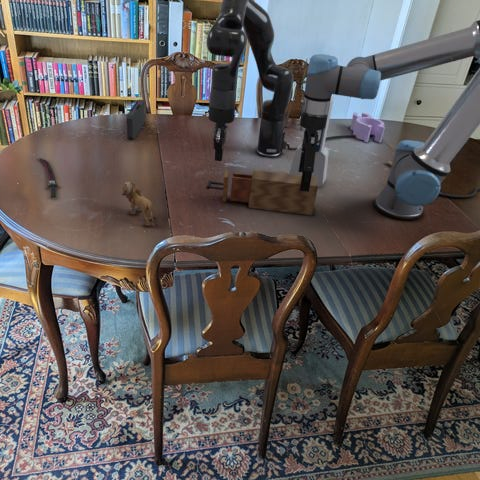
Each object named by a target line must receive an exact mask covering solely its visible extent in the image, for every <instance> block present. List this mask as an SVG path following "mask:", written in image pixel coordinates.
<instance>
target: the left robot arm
mask: <svg viewBox="0 0 480 480" xmlns="http://www.w3.org/2000/svg"><path fill="white" fill-rule="evenodd" d="M218 13H219V14H218V17H217V18H216V20H215V22H214V23H213V25H212V26H211V27H210V29H209V31H208V33H207V35H206V43H205V44H206V49H207V50H208V52H209V53H210V54H211V55H213V56H218V57H226V58H227V57H228V58H231V60H230V61H229V62H226V63H219V64H215V65H214V66H213V67H212V68H211V69H212V70H211V81H210V82H211V83H210V91H209V101H208V117H207V118H208V120H209V121H211V122H212V123H214V126H213V127H212V133H213V150H214V161H216V162H222V161H223V155H224V153H223V152H224V148H225V143H226V140H227V133H228V130H229V125H228V124H231V123H233V122H234V121H235V116H236V115H235V114H236V104H237V81H238V72H239V68H240V65H241V61H242V59H243V57H244V54H245V51H246V48H247V43H248V44H249V47H250V50H251V52H252V55H253V58H254V61H255V64H256V67H257V72H258V77H259V80H260V83H261V86H262V87H263V88H264V89H266V90H267V91H269V92H271V93H273V95H272V99H266V100H263V102H262V105H261V114H260V123H259V131H258V138H257V139H258V140H257V148H256V153H257V154H258V155H259V156H262V157H264V158H265V157H266V158H277V157H279V156H281V155H282V154H283V150H286V149H288V150H290V151H296V150H297V148H298V147H290V146H291V145H290V143H288V142H287V141H286V140H285V136H286V130H284V128H285V127H284V125H285V122H286V117H287V116H286V115H287V109H288V107H289V104H290V101H291V96H292V91H293V86H294V74H293V73H294V72H293V71H292V70H291V69H289V68H286V67H284V66H280V65H278V64H276V62H275V59H274V56H273V54H272V48H273V45H274V41H275V29H274V27H273V23H272V20H271V17H270V15H269V14H268V12H267V11H266V9H264V7H262V6H261V5H259V4H258V3H257V2H256V1H255V0H222V1H221V4H220V8H219V12H218ZM242 29H243V30H242ZM373 137H374V135H372V134H370V136H369V138H373ZM340 138H356V135H353V134H345V135H343V134H342V135H333V136H326V140H331V139H340ZM326 140H325V141H326ZM319 141H320V139H318V140H317V144H319Z"/></svg>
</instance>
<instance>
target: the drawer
mask: <svg viewBox="0 0 480 480" xmlns="http://www.w3.org/2000/svg"><path fill="white" fill-rule="evenodd" d="M229 180H230V170H229V169H226V170H225V172H224V175H223V182H218V181H212V180H211V179H208V181H207V184H206V187H205V188H206V190H211V189H212V190H220V191H222V197H221V202H227V198H228V192H229V182H230V181H229ZM251 181H252V174H251V173H250V174H249V173H241V172H233V173H232V176H231V186H230V195H229V196H230V198H229V201H233V202H240V203H241V202H242V203H248V204H249V198H250V189H251ZM213 185H217V186H213ZM219 185H220V186H219Z"/></svg>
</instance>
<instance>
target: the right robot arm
mask: <svg viewBox="0 0 480 480" xmlns="http://www.w3.org/2000/svg"><path fill="white" fill-rule="evenodd" d="M472 57H474V58H476V59H477V60H478V59H479V60H480V19H479V20H474V21H473V22H472V23H471V25H470V26H469V27H465V28H462V29H458V30H454V31H451V32H448V33H445V34H441V35H437V36H434V37H430V38H426V39H423V40H420V41H416V42H414V43H410V44H405V45H403V46H399V47H396V48H392V49H388V50H384V51H381V52H378V53H374V54H372V55H368V56H356V57H353V58H352V59H351V60H349V62H347V64H346V66H343V65H339V63H338V62H339V61H338V58H337V57H336V56H334V55H330V54H325V53H324V54H323V53H317V54H313V55H312V56H311V57H310V58H309V61H308V68H307V71H306V79H305V81H306V83H305V87H304V92H303V100H301V99H300V104H301V103H303V107H302V111H303V112H302V113H301V112H300V116H301V117H300V119H299V121H300V122H299V126H300V127H301V126H302V129H304V130H303V137H304V139H303V138H302V143H301V144H302V151H303V152H301V159H300V165H299V172H302V179H301V185H300V191H306V192H309V188H310V182H311V177H312V173H313V172H314V161H315V153H316V147H317V145H318V143H317V141H318V140H319V132H318V131H322V130H323V129H325V127H326V123H327V118H328V116H327V114H328V113H329V108H330V102H331V97H332V95H335V96H343V97H348V98H356V99H360V100H374V99H376V97H377V96H378V93H379V89H380V84H381V81H384V80H389V79H392V78H395V77H400V76H403V75H406V74H411V73H415V72H418V71H422V70H426V69H430V68H434V67H438V66H442V65H446V64H449V63H453V62H457V61H460V60H464V59H469V58H472ZM479 126H480V67H479V68H478V70H477V71H476V72H475V74H474V75H473V77H471V79H470V81H469V82H468V83H467V85H466V86H465V88H464V89H463V90H462V92H460V94H459V96H457V99H456V100H455V101H454V103H453V104H452V106H451V107H450V108H449V110H448V111H447V112H446V114H445V115H444V117H442V120H440V121H439V123H438V125H437V126H436V127H435V129H434V130H433V132H432V133H431V134H430V136H429V137H428V138H427V140H426V141H425V142H422V141H417V140H412V139H411V140H410V139H406V140H401V141H399V142H398V144H397V147H396V148H395V152H394V153H395V154H394V156H393V160H392V166H390V170H389V174H388V177H387V180H386V184H384V186H383V188H381V189H380V191H379V194H378V195H377V197H376V199H375V202H374V207H375V208H376V209H377V210H378V211H379V212H380V213H381V214H383V215H385V216H386V217H390V218H393V219H396V220H401V221H414V220H417V219H419V218H421V217H422V215H423V212H424V206H426V205H429V204H431V203H432V202H434V201H435V200H436V199H437V198H438V196H440V197H446V198H451V199H468V198H469V199H470V198H472V197H474V196H475V195H476V194H477V192H478V191H479V187H478V186H476V187H475V188H474V189H473V192H472V193H470V194H463V195H462V194H449V193H444V192H440V191H441V188H442V187H441V186H442V185H441V184H442V183H443V181H444V180H445V179H446V177H448V175H449V173H450V172H451V162H452V161H453V160H454V158H455V157H456V156H457V154H458V153H459V152H460V150H461V149H462V148H463V147H464V145H465V144H466V143H467V142H468V140H469V139H470V138H471V136H472V135H473V134H474V133H475V131H476V130H477V129H478V128H479ZM305 129H306V130H305ZM308 167H310V168H308Z"/></svg>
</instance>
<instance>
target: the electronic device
mask: <svg viewBox="0 0 480 480" xmlns="http://www.w3.org/2000/svg"><path fill="white" fill-rule="evenodd" d="M334 100H335V98H334V97H332V96H331V102H330V108H329V113H328V114H327V116H328V118H327V123H326V127H325V129H323V130H320V131H321V132H320V136H319V140H320V141H319V142H318V144H317V147H316V153H315V161H314V172H313V173H312V177H317V183H318V188H320V187H321V186H322V185H324V183H325V181H326V179H327V173H328V163H329V162H328V161H329V153H330V150H329V149H328V148H327V147H326V146H325V145H326V138H327V135H328V130H329V125H330V119H331V114H332V109H333V104H334ZM305 130H306V129H305V128H304V131H305ZM303 139H304V136H303V138H302V140H303ZM296 148H297V150H295V152H294V156H293V159H292V162H291V166H290V169H289V173H288V174H291V175H300V176H302V172H299V165H300V159H301V152H303V151H302V143H300V144H299V145H298V147H296ZM308 168H310V167H308Z"/></svg>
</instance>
